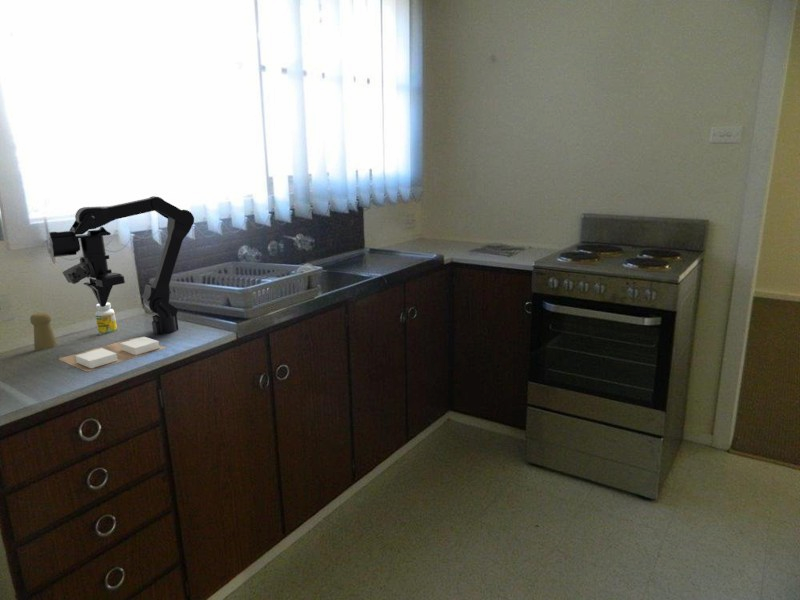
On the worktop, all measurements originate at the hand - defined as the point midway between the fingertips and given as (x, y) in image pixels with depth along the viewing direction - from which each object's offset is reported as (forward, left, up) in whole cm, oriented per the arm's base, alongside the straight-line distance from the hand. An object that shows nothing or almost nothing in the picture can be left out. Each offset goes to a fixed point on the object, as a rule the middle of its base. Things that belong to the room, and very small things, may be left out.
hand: (102, 306), depth 168 cm
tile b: (+10, +10, -10) cm, 17 cm away
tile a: (-2, +10, -10) cm, 14 cm away
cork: (+12, -13, -12) cm, 21 cm away
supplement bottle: (-6, -13, -12) cm, 19 cm away
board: (+4, +11, -12) cm, 16 cm away
